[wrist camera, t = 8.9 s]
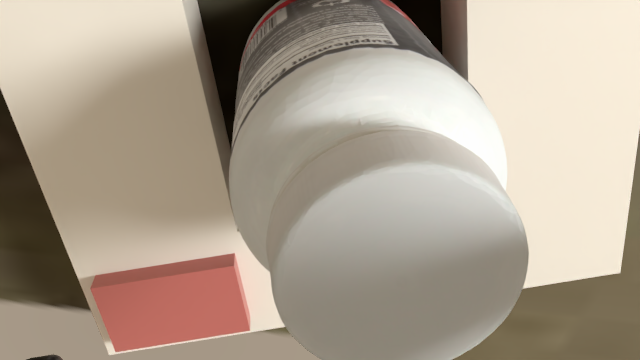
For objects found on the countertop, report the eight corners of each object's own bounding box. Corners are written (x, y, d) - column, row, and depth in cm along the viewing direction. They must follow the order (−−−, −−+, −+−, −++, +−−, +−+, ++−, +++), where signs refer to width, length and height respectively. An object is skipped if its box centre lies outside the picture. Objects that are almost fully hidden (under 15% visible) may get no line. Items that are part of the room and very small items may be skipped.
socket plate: (582, 228, 21) (630, 284, 18) (125, 302, 21) (104, 369, 18) (628, -263, 14) (714, -288, 12) (-47, -162, 14) (-120, -164, 11)
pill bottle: (447, 113, 19) (606, 339, 10) (288, 183, 19) (312, 449, 11) (384, -57, 16) (526, 50, 8) (204, 29, 17) (147, 217, 8)
